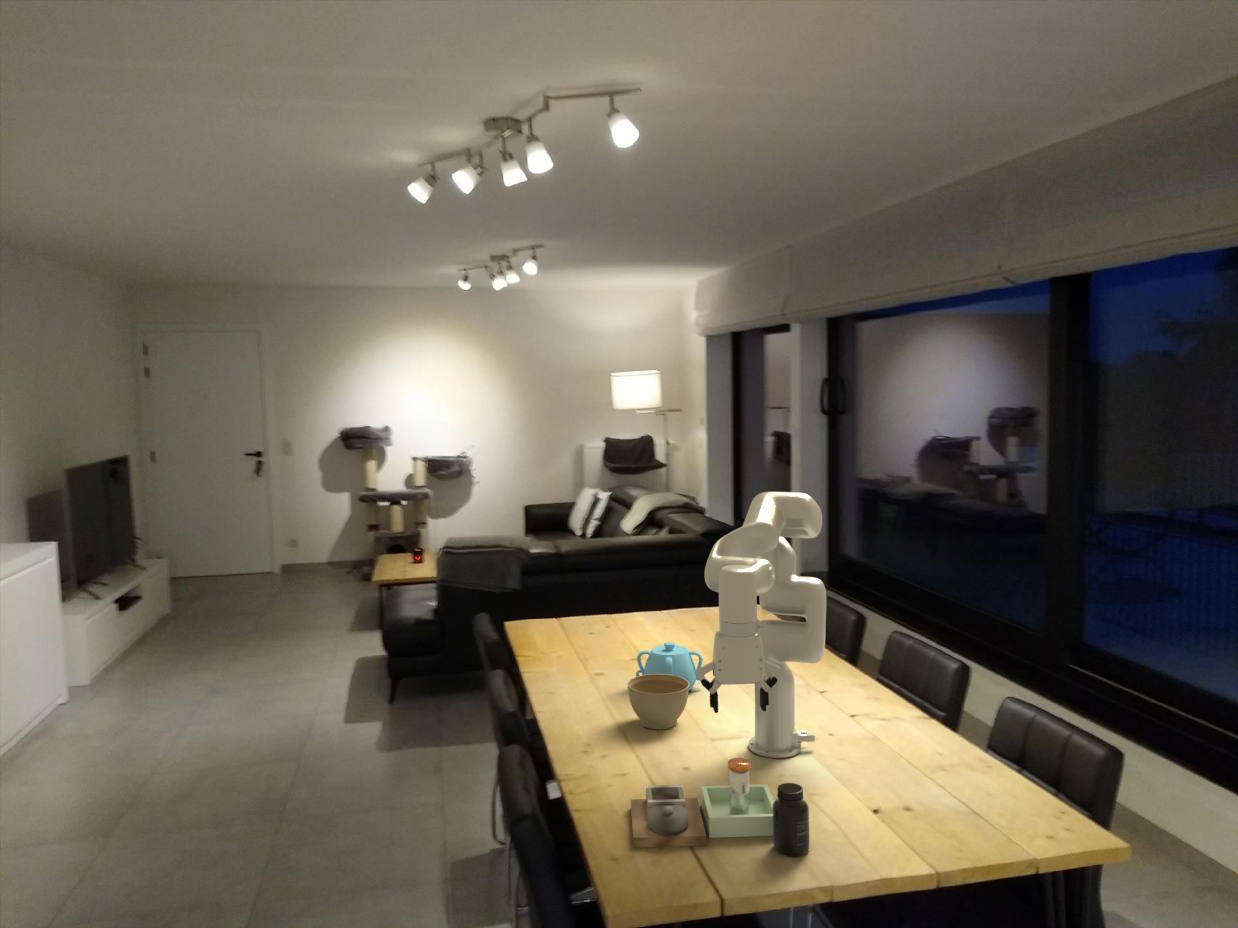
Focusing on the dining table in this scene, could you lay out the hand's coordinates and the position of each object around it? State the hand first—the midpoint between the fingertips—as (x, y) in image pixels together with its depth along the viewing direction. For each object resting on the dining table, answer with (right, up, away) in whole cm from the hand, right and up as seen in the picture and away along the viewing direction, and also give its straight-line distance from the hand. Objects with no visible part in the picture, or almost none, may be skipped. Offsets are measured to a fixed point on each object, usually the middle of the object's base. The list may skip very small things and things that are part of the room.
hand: (739, 709), depth 181 cm
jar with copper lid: (0, -22, +2) cm, 22 cm away
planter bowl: (-14, -19, +54) cm, 59 cm away
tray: (0, -23, +2) cm, 23 cm away
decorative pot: (-9, -16, +81) cm, 83 cm away
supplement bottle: (+9, -24, -10) cm, 27 cm away
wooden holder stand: (-15, -23, -1) cm, 28 cm away
